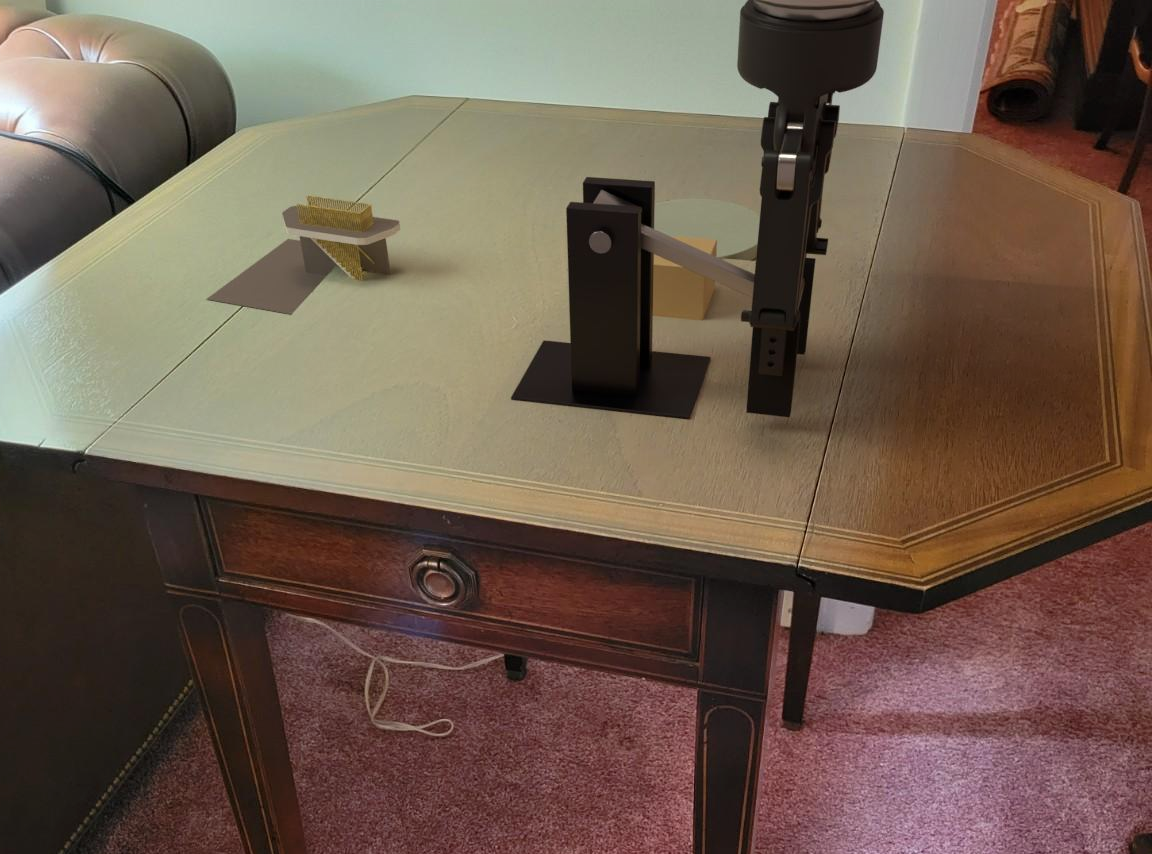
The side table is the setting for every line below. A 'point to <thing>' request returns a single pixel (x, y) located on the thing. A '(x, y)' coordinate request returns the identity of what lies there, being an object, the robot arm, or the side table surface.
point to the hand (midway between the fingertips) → (777, 379)
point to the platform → (313, 255)
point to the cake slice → (682, 285)
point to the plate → (711, 225)
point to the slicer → (612, 317)
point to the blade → (690, 255)
